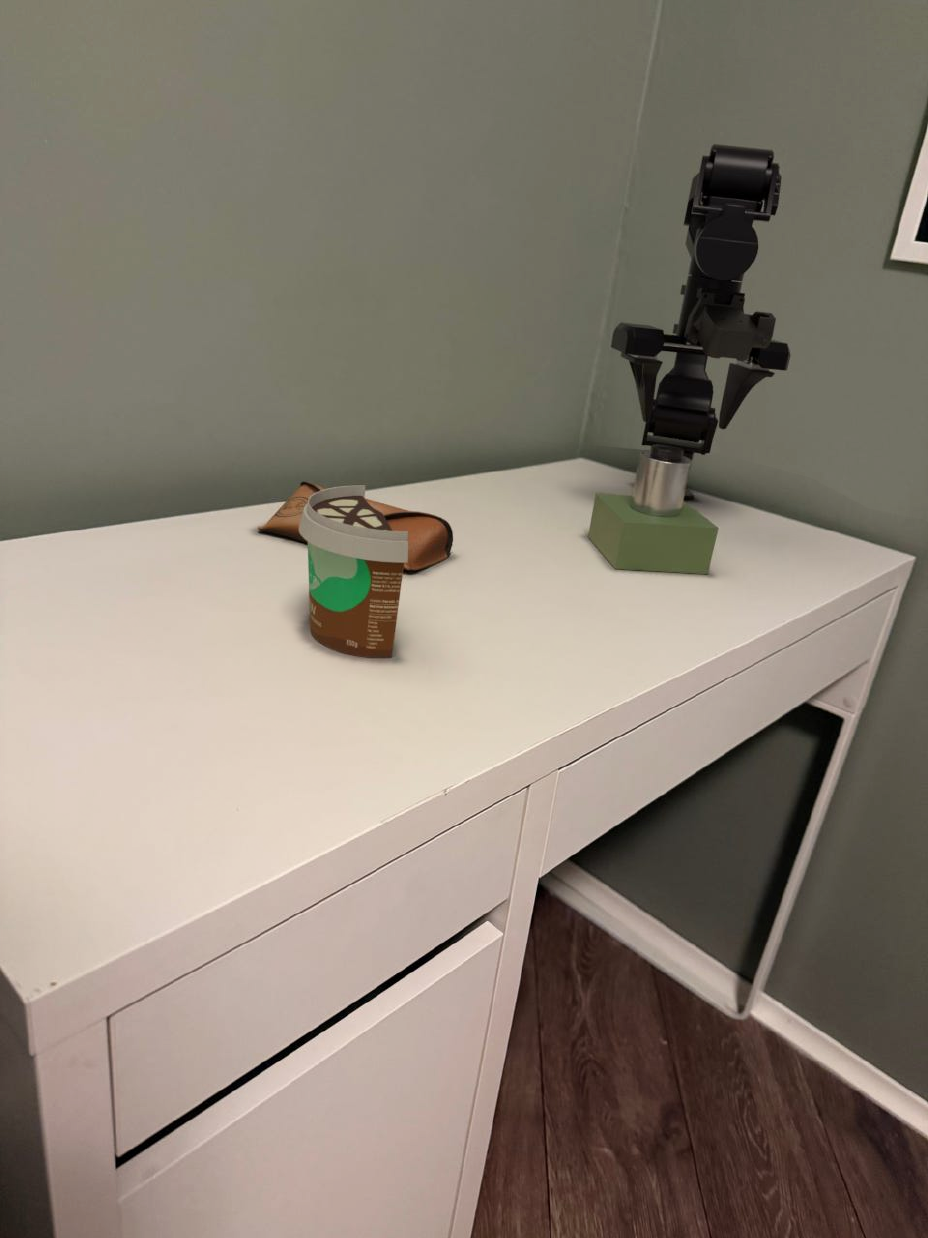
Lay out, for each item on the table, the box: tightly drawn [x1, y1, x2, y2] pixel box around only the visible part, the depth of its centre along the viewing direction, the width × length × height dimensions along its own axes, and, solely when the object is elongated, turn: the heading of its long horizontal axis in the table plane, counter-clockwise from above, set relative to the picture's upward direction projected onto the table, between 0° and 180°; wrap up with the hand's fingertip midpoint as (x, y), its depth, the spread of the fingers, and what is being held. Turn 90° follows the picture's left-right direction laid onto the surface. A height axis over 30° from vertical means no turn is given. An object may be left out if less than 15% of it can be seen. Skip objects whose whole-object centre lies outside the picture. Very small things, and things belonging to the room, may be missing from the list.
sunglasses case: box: [257, 480, 454, 572], centre depth 87 cm, size 18×7×7 cm
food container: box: [299, 484, 408, 659], centre depth 66 cm, size 12×6×10 cm, turn 21°
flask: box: [630, 444, 693, 517], centre depth 91 cm, size 5×5×6 cm
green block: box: [587, 492, 719, 575], centre depth 94 cm, size 10×10×5 cm
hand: (684, 425), depth 101 cm, fingers open, 9 cm apart
